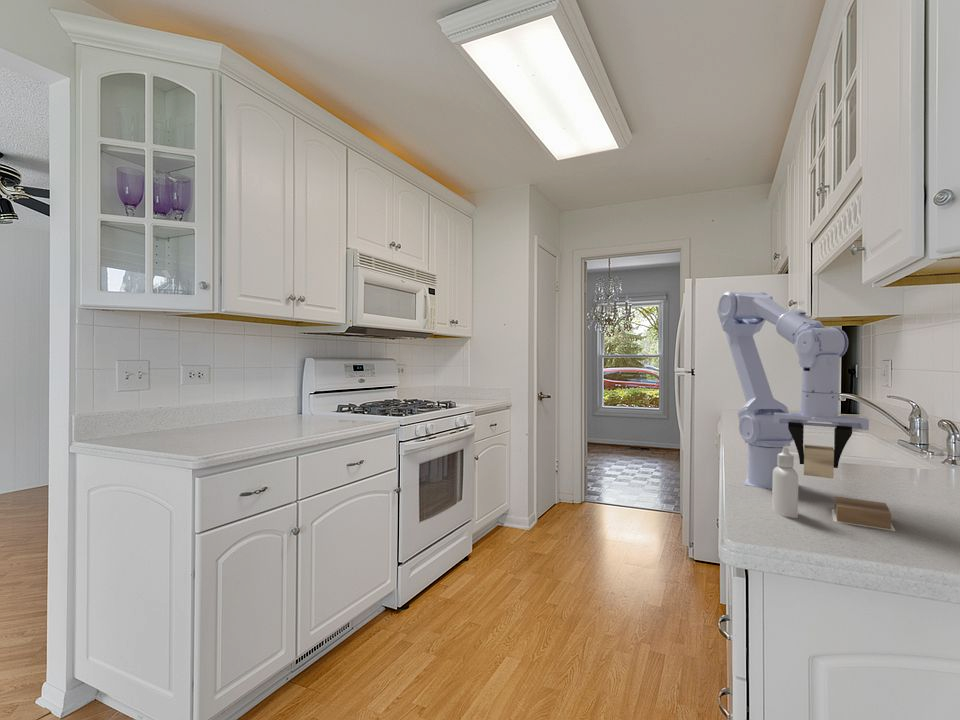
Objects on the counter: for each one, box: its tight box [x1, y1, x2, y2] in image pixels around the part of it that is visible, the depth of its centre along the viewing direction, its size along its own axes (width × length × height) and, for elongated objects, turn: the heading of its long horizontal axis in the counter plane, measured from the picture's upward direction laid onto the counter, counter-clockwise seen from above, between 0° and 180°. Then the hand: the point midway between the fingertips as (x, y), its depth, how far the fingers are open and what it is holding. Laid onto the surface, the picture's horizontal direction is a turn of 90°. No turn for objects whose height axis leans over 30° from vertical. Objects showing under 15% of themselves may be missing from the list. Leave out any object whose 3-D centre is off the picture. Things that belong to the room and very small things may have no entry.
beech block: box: [803, 443, 835, 479], centre depth 94 cm, size 4×4×5 cm
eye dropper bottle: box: [771, 446, 799, 519], centre depth 88 cm, size 4×6×12 cm
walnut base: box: [834, 495, 892, 529], centre depth 85 cm, size 7×7×2 cm
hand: (818, 465), depth 94 cm, fingers closed on beech block, 4 cm apart
